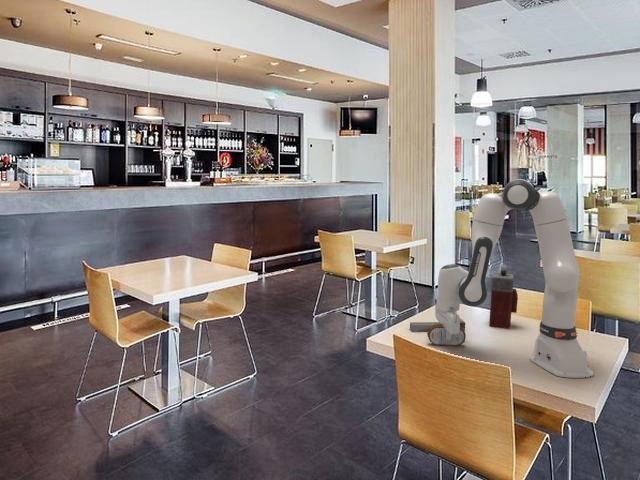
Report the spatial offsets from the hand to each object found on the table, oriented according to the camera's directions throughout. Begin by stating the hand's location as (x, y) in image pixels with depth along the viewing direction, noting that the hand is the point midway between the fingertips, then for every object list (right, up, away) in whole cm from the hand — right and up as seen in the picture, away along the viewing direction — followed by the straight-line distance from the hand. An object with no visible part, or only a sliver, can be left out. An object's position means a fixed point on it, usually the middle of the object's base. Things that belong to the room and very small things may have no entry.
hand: (446, 337), depth 196 cm
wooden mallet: (-1, -1, +12) cm, 12 cm away
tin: (0, -3, 0) cm, 3 cm away
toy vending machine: (+33, 0, +26) cm, 42 cm away
